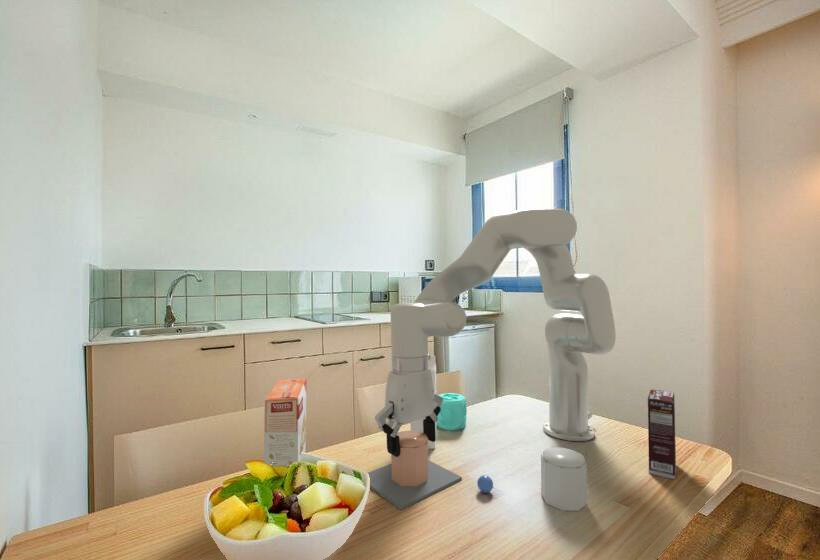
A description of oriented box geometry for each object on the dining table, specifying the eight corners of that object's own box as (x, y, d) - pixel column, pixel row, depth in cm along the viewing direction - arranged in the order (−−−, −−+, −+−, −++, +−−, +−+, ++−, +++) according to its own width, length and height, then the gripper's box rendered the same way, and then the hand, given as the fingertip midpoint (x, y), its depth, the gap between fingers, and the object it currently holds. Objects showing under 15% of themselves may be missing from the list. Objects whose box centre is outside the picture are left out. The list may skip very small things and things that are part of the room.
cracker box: (299, 522, 65) (299, 397, 65) (261, 525, 64) (261, 399, 64) (307, 479, 78) (307, 377, 79) (276, 482, 77) (276, 378, 78)
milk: (435, 449, 93) (435, 357, 92) (410, 448, 93) (410, 357, 93) (436, 439, 99) (436, 353, 99) (413, 437, 99) (413, 352, 99)
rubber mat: (416, 455, 89) (416, 453, 89) (461, 479, 78) (461, 477, 78) (357, 479, 79) (357, 476, 79) (400, 509, 68) (400, 507, 68)
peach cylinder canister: (411, 464, 84) (411, 427, 84) (435, 477, 78) (435, 438, 78) (385, 475, 79) (384, 436, 79) (407, 490, 73) (407, 448, 73)
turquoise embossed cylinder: (466, 421, 111) (466, 393, 111) (463, 432, 103) (463, 402, 103) (439, 419, 113) (439, 392, 113) (434, 429, 105) (434, 400, 105)
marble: (484, 485, 76) (483, 470, 76) (496, 492, 74) (496, 476, 74) (474, 491, 74) (474, 475, 74) (486, 497, 72) (486, 481, 72)
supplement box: (650, 458, 87) (649, 388, 88) (676, 464, 85) (675, 392, 85) (647, 473, 80) (647, 397, 81) (675, 480, 78) (675, 402, 78)
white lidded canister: (555, 484, 76) (555, 444, 76) (592, 500, 71) (592, 456, 71) (535, 497, 72) (534, 454, 72) (573, 515, 66) (572, 469, 66)
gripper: (428, 354, 87) (430, 429, 87) (364, 367, 76) (366, 454, 76) (452, 359, 81) (454, 440, 82) (387, 374, 70) (389, 467, 70)
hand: (412, 446), depth 79 cm, fingers open, 9 cm apart
